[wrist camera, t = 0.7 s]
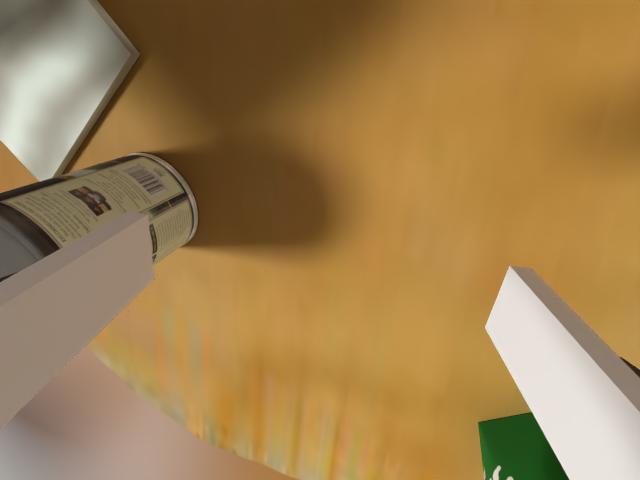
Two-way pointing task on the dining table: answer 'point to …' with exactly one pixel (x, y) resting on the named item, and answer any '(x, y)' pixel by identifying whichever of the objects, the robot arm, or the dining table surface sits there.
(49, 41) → the brown piece
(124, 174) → the coffee can
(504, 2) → the dining table surface
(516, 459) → the milk carton
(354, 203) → the dining table surface
